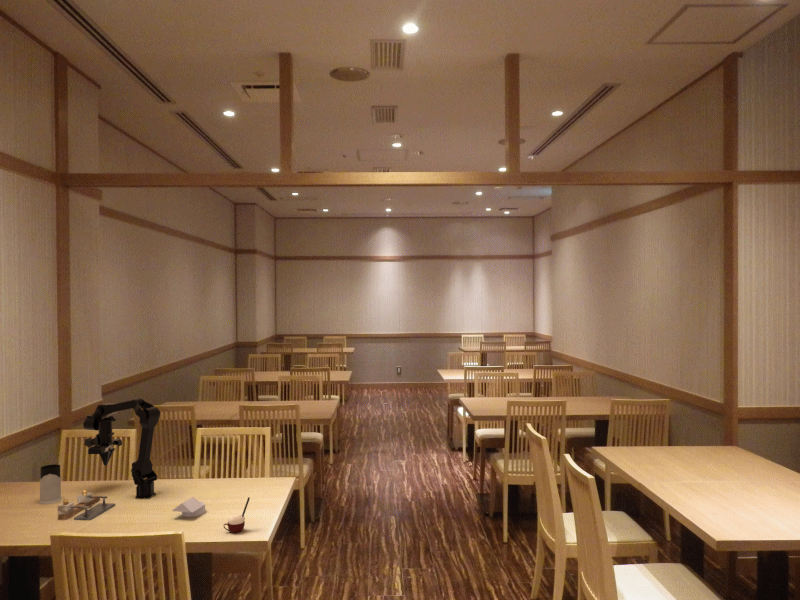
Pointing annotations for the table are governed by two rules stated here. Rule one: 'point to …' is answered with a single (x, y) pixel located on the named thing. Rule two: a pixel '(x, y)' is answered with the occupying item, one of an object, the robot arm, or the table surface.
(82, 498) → the carriage
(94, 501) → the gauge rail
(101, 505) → the flange plate
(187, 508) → the wedge on round base
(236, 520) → the cocoa
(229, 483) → the table surface
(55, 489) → the glass holder
